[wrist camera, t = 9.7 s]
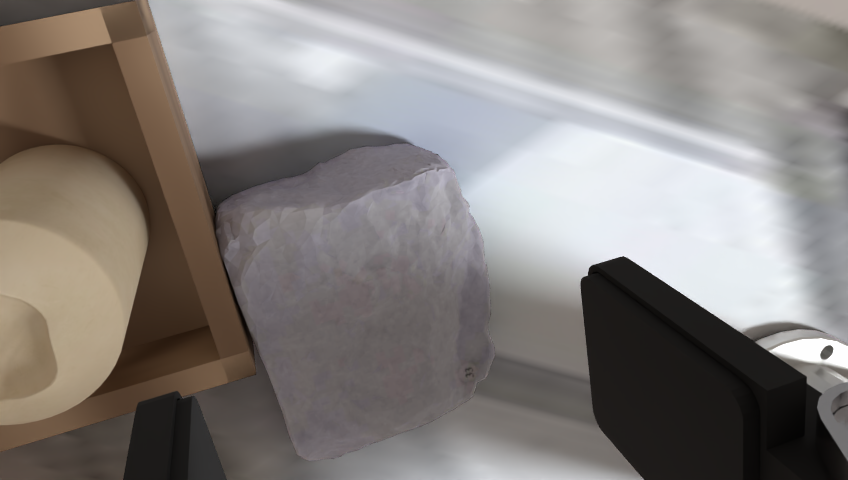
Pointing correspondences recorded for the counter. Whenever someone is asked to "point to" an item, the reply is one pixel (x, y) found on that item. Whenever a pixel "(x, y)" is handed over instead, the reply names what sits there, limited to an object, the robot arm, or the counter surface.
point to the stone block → (361, 294)
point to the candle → (64, 276)
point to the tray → (160, 184)
